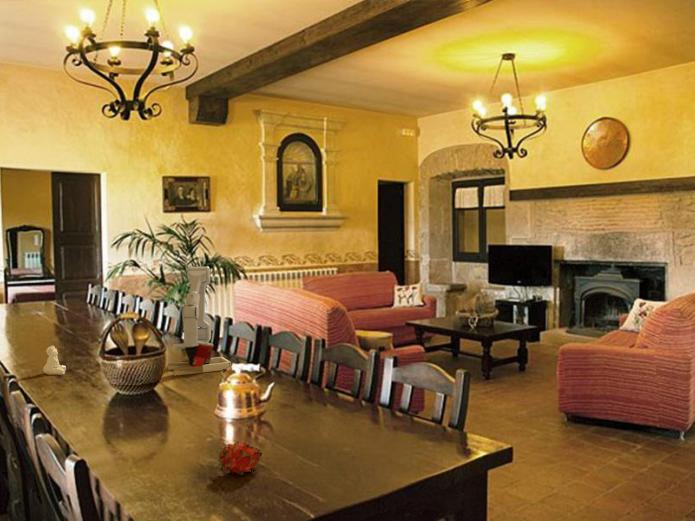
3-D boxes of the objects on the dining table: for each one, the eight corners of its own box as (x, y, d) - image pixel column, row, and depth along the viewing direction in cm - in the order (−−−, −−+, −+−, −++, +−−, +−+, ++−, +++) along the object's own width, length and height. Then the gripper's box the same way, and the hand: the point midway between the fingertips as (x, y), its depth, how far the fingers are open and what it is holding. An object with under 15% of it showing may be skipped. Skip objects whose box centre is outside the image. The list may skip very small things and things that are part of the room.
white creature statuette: (64, 374, 255) (63, 346, 254) (42, 376, 251) (41, 348, 251) (66, 369, 263) (65, 342, 263) (44, 371, 260) (43, 344, 260)
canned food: (206, 370, 259) (212, 345, 260) (188, 366, 259) (193, 341, 260) (209, 368, 267) (215, 343, 267) (192, 364, 266) (197, 340, 267)
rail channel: (167, 369, 263) (167, 363, 263) (195, 366, 269) (195, 360, 269) (174, 375, 252) (174, 369, 252) (203, 372, 258) (202, 366, 257)
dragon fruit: (214, 483, 149) (258, 479, 155) (227, 472, 143) (272, 468, 150) (210, 449, 153) (253, 446, 160) (222, 437, 148) (266, 435, 154)
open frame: (195, 366, 269) (195, 359, 269) (222, 363, 275) (222, 356, 275) (203, 372, 258) (202, 365, 257) (231, 369, 264) (231, 362, 263)
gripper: (175, 335, 253) (175, 367, 254) (209, 333, 260) (209, 364, 260) (172, 333, 260) (172, 365, 260) (205, 331, 266) (205, 362, 267)
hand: (190, 364), depth 260 cm, fingers closed, pressing on canned food
